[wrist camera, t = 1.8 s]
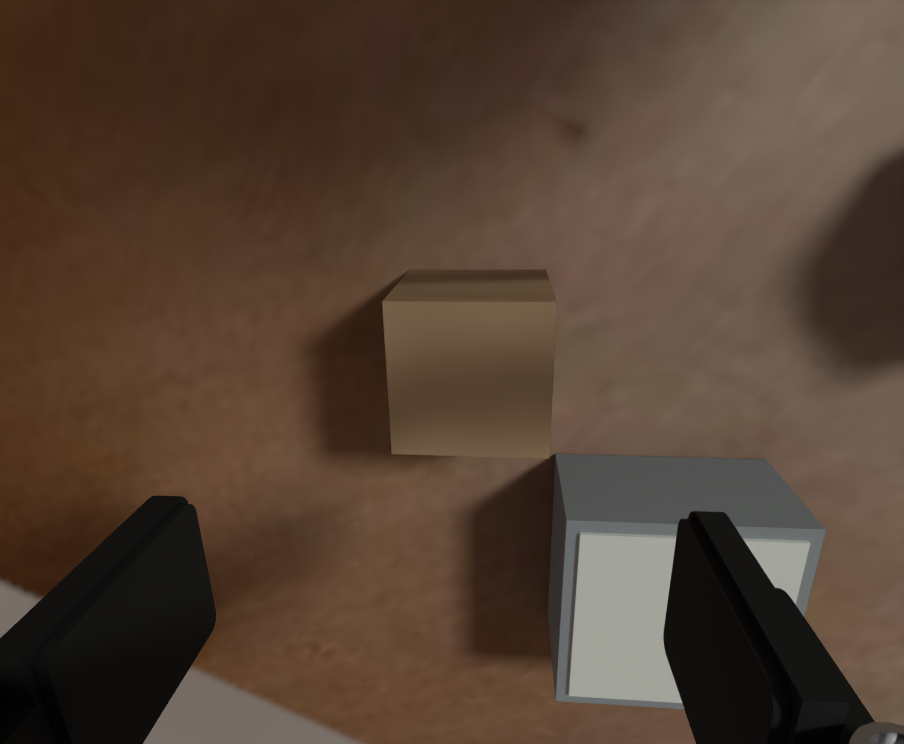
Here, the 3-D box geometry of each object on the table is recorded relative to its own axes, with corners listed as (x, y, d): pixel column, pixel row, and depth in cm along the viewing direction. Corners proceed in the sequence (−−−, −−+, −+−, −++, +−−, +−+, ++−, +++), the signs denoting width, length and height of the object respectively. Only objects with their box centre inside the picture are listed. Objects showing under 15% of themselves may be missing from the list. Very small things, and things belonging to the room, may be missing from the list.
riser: (555, 454, 26) (567, 522, 21) (765, 459, 25) (828, 532, 20) (547, 612, 29) (556, 704, 24) (733, 621, 28) (780, 718, 23)
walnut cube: (409, 269, 23) (382, 301, 18) (545, 269, 23) (557, 302, 18) (414, 393, 25) (391, 454, 20) (540, 396, 25) (549, 458, 20)
